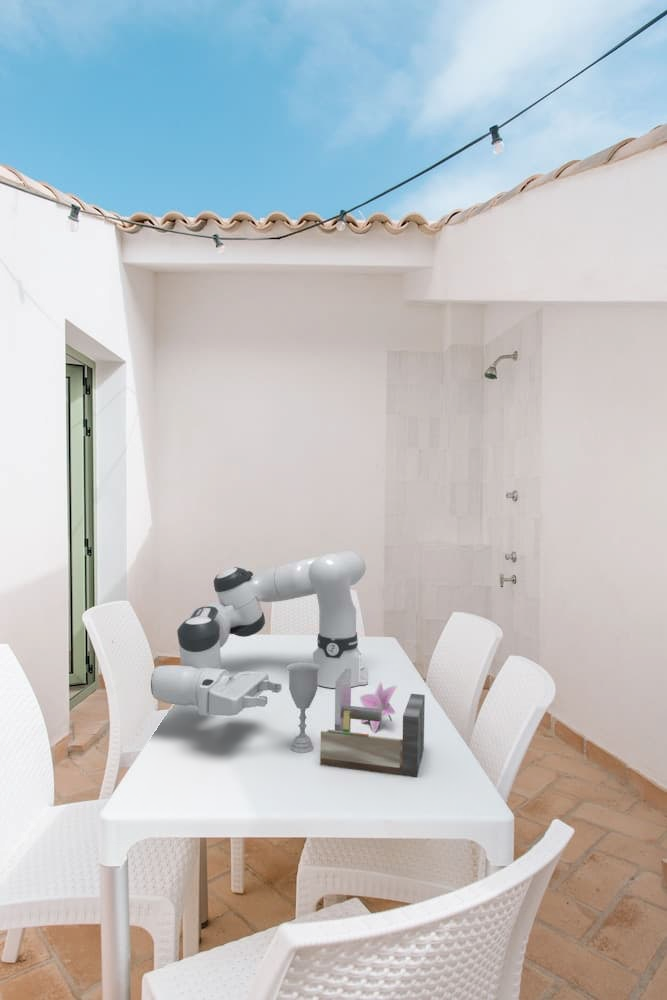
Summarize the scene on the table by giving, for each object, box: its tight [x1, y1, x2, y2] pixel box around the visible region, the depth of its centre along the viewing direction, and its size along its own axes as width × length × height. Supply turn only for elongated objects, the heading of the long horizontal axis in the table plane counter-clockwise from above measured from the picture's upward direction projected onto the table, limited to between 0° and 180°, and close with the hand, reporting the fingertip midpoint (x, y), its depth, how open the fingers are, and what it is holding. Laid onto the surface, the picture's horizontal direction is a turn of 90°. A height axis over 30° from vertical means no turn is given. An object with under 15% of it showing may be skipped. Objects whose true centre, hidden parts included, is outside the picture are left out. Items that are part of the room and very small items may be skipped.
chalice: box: [286, 662, 320, 754], centre depth 133 cm, size 7×7×18 cm
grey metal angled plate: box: [334, 668, 383, 731], centre depth 129 cm, size 11×9×15 cm
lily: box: [359, 681, 398, 733], centre depth 148 cm, size 12×12×10 cm
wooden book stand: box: [319, 693, 426, 778], centre depth 129 cm, size 14×20×12 cm
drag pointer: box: [343, 711, 352, 732], centre depth 125 cm, size 1×1×9 cm
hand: (273, 694), depth 134 cm, fingers open, 8 cm apart
